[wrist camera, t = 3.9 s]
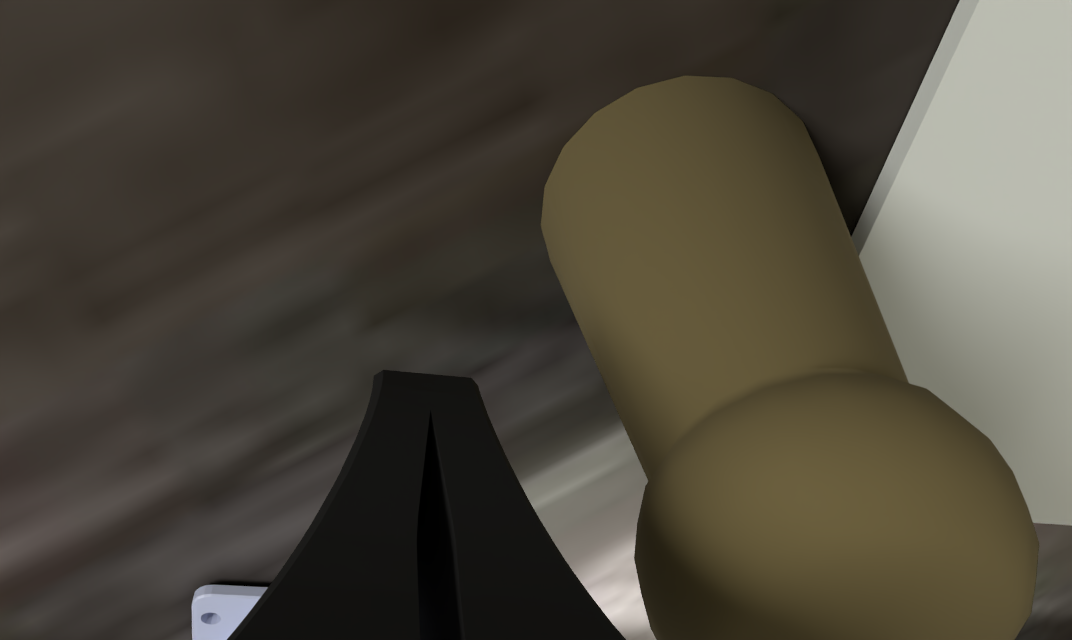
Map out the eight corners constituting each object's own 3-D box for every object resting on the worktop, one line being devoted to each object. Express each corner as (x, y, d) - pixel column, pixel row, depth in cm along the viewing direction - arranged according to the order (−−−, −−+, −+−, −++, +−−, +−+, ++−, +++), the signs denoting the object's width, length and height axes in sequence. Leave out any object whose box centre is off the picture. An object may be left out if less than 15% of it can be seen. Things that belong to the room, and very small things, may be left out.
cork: (837, 59, 19) (1201, 464, 10) (806, 307, 22) (1053, 763, 14) (529, 92, 18) (625, 535, 10) (549, 336, 22) (632, 818, 13)
